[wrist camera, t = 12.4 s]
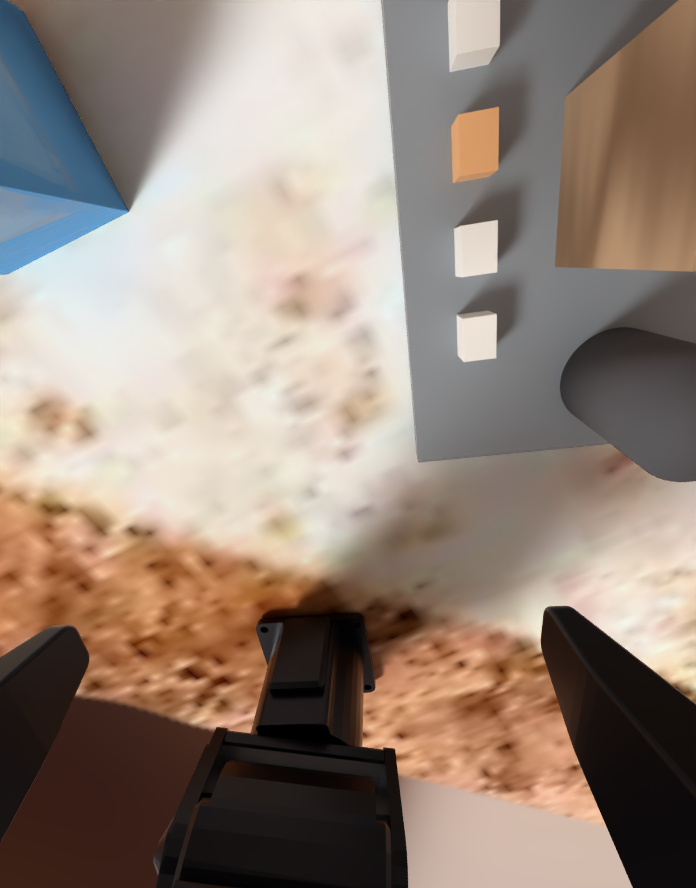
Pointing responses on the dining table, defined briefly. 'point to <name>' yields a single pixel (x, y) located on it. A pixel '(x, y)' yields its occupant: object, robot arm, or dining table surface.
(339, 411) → the dining table surface
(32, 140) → the perfume bottle
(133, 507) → the dining table surface
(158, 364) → the dining table surface
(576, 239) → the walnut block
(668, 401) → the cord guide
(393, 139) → the panel
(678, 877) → the robot arm
